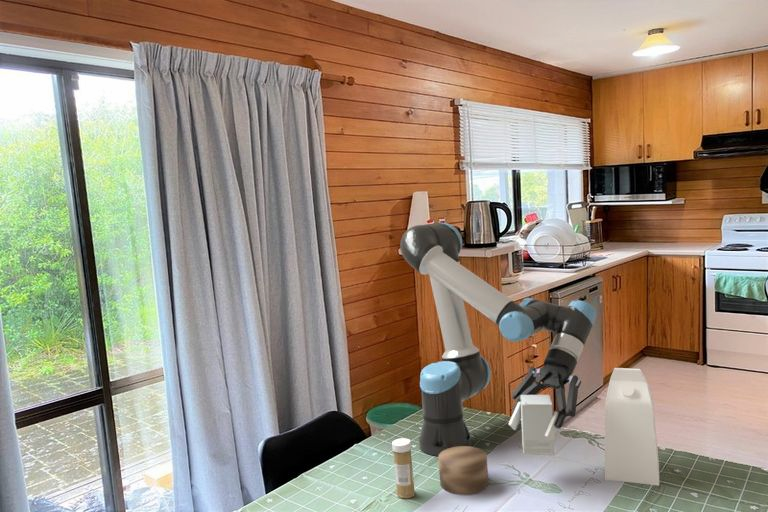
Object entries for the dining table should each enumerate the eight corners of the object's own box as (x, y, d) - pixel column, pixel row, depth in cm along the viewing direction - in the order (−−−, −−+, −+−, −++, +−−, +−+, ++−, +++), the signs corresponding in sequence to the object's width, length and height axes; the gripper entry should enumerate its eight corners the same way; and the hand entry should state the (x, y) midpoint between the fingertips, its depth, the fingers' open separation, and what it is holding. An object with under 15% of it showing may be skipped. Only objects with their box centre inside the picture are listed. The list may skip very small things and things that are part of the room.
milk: (658, 464, 145) (654, 363, 143) (659, 485, 135) (654, 377, 133) (608, 459, 150) (602, 361, 148) (604, 479, 140) (599, 374, 138)
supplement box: (554, 455, 138) (552, 404, 137) (523, 454, 140) (520, 404, 139) (552, 442, 145) (550, 394, 144) (522, 442, 147) (519, 393, 146)
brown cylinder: (431, 480, 147) (429, 453, 147) (470, 468, 152) (468, 442, 152) (457, 500, 136) (454, 471, 136) (498, 485, 141) (496, 458, 141)
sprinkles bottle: (418, 491, 141) (413, 438, 140) (410, 500, 137) (405, 446, 136) (401, 488, 144) (397, 436, 143) (393, 497, 140) (388, 443, 139)
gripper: (610, 370, 142) (577, 453, 134) (533, 356, 159) (499, 428, 151) (598, 354, 138) (564, 438, 130) (520, 341, 155) (485, 414, 147)
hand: (529, 432), depth 140 cm, fingers closed on supplement box, 10 cm apart
